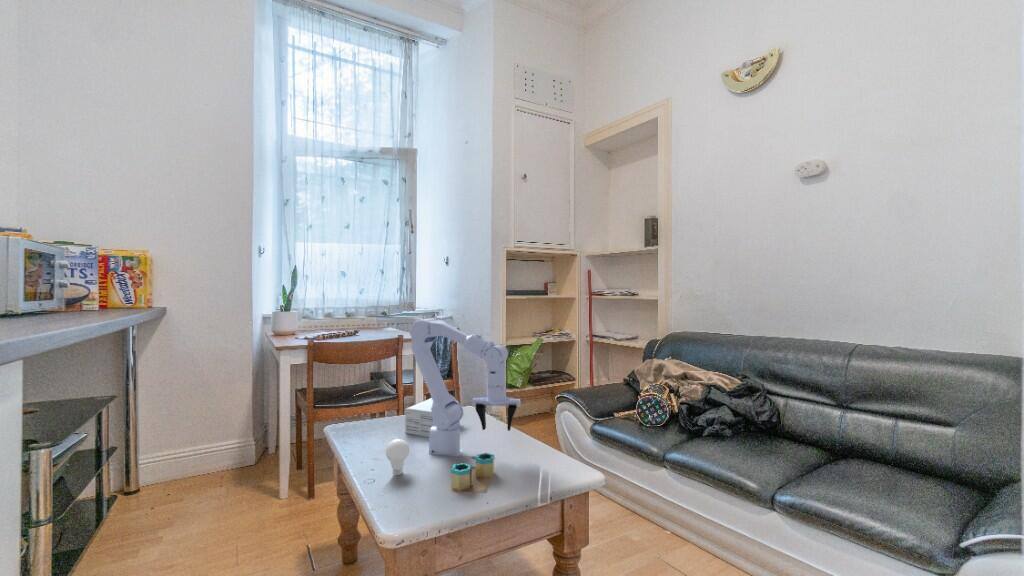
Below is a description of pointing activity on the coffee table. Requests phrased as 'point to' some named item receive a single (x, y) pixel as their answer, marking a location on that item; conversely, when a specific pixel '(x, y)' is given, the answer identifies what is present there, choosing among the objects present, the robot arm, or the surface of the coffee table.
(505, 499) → the coffee table surface
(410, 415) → the supplement box
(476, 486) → the pin board
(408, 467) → the coffee table surface
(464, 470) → the seated sleeve
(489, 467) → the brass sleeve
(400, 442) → the lightbulb
